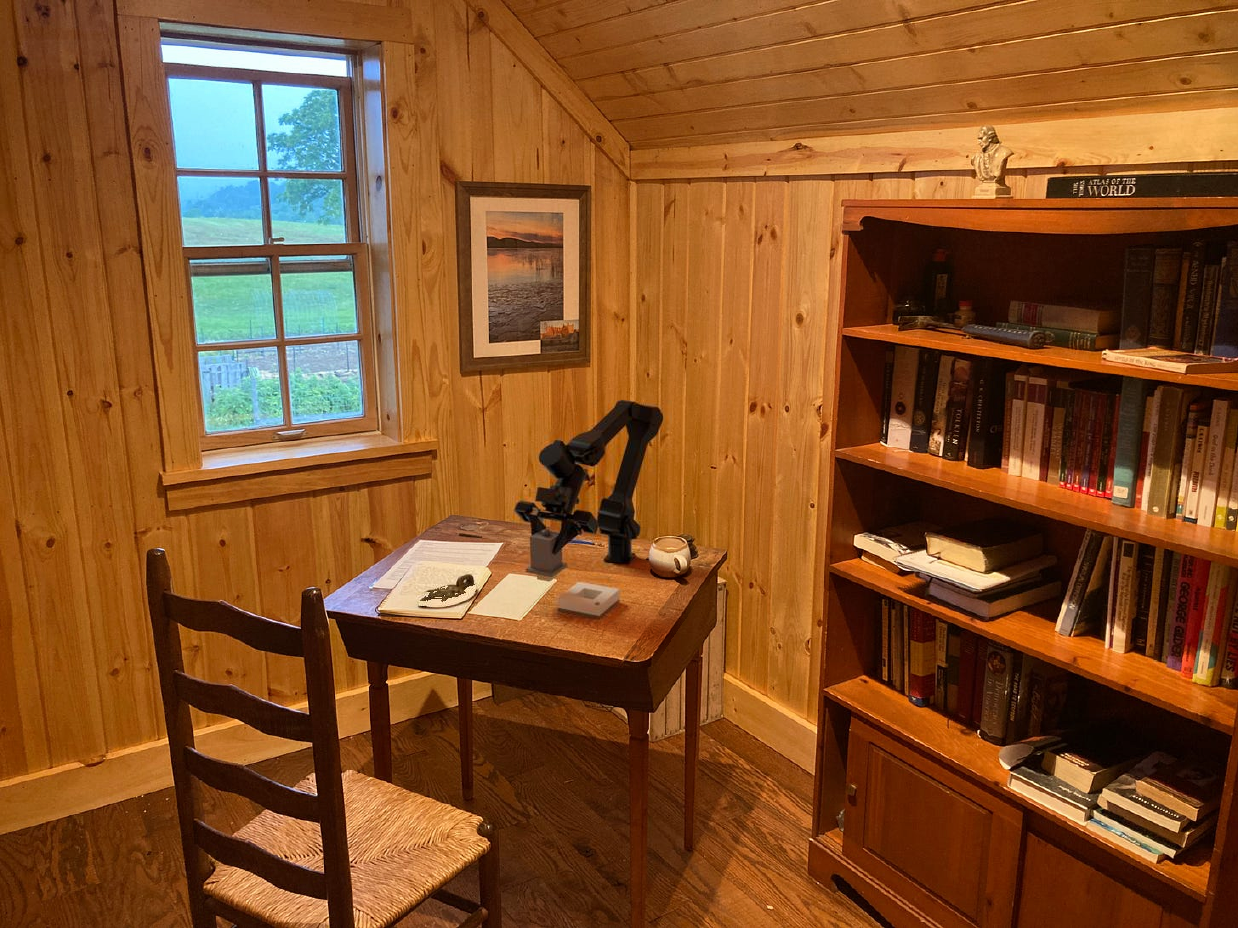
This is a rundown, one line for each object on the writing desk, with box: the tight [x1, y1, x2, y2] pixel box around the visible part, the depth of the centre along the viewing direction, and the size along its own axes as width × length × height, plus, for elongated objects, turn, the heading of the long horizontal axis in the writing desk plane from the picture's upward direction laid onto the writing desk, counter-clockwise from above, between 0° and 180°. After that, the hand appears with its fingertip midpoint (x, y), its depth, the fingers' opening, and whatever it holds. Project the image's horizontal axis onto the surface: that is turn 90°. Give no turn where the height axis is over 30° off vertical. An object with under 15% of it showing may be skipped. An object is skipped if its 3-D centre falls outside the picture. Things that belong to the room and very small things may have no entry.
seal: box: [420, 573, 476, 602], centre depth 219 cm, size 9×5×15 cm
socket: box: [556, 581, 620, 620], centre depth 215 cm, size 10×10×3 cm
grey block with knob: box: [525, 528, 568, 582], centre depth 214 cm, size 7×7×11 cm
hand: (543, 551), depth 213 cm, fingers closed on grey block with knob, 5 cm apart
